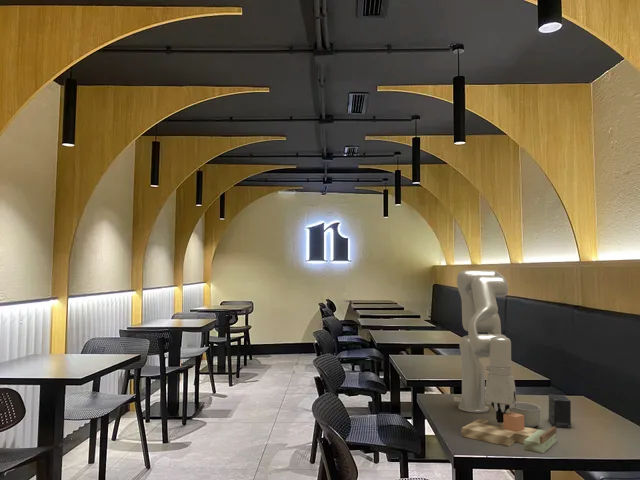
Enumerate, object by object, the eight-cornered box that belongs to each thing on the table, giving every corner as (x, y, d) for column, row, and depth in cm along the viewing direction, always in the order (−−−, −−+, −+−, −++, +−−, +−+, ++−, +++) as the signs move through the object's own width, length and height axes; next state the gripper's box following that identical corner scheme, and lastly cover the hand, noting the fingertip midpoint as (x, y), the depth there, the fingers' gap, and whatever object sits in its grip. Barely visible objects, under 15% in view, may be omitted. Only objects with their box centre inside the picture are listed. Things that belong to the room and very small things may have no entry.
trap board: (461, 436, 193) (461, 422, 193) (478, 426, 206) (478, 413, 206) (543, 453, 176) (542, 437, 176) (556, 441, 188) (556, 426, 189)
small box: (572, 428, 204) (571, 400, 205) (553, 427, 206) (553, 399, 206) (565, 421, 215) (564, 394, 215) (547, 420, 216) (547, 393, 217)
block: (503, 428, 193) (503, 414, 194) (512, 426, 196) (512, 412, 196) (515, 431, 189) (515, 417, 189) (524, 429, 192) (524, 415, 192)
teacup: (539, 424, 210) (539, 403, 211) (541, 431, 200) (541, 409, 201) (502, 420, 215) (501, 400, 216) (501, 427, 205) (501, 406, 205)
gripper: (476, 370, 199) (477, 420, 198) (517, 375, 190) (518, 428, 189) (484, 367, 205) (485, 416, 204) (524, 372, 196) (525, 423, 195)
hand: (501, 422), depth 196 cm, fingers closed
